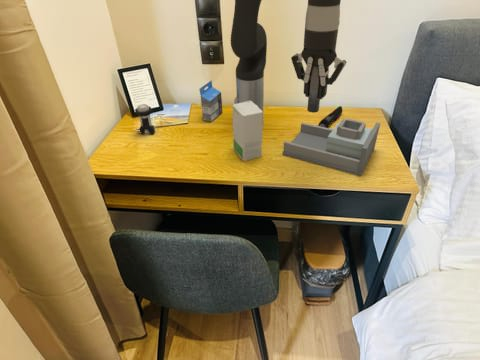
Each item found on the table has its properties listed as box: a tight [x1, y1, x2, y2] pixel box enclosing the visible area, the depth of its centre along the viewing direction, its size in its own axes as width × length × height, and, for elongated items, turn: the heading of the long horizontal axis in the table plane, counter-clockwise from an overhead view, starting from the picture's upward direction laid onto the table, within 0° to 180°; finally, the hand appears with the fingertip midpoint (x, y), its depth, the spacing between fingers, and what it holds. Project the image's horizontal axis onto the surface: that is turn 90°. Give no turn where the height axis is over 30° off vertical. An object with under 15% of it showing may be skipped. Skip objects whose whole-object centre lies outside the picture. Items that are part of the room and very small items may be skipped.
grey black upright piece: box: [134, 104, 156, 136], centre depth 117 cm, size 7×5×10 cm
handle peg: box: [306, 66, 321, 113], centre depth 87 cm, size 3×3×12 cm
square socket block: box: [326, 118, 373, 160], centre depth 100 cm, size 10×10×10 cm
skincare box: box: [232, 101, 264, 162], centre depth 103 cm, size 8×7×16 cm
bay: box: [281, 122, 381, 177], centre depth 104 cm, size 24×16×9 cm, turn 60°
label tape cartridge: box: [199, 80, 223, 123], centre depth 125 cm, size 9×4×12 cm, turn 155°
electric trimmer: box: [317, 105, 343, 128], centre depth 122 cm, size 4×16×3 cm, turn 143°
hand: (314, 96), depth 88 cm, fingers closed on handle peg, 3 cm apart
